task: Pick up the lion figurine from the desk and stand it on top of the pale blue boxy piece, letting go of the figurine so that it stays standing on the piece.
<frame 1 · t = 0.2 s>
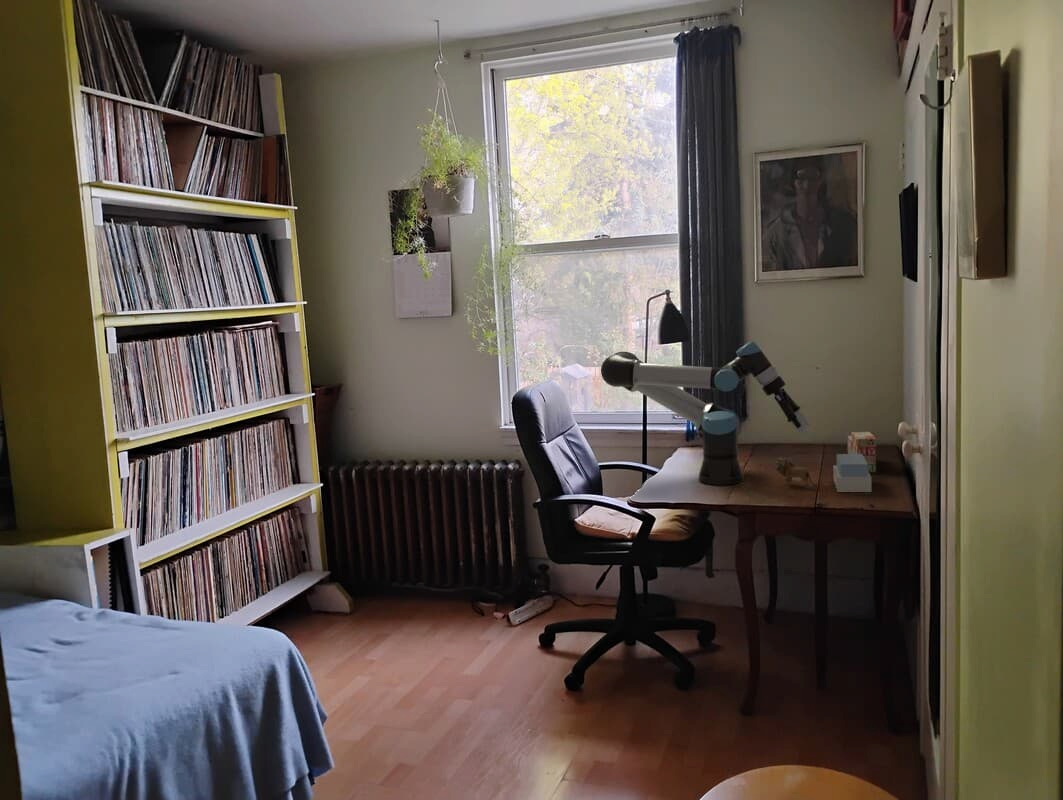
hand: (806, 430, 296), 15 cm above the table, tool tilted 35°, fingers open, 13 cm apart
lion figurine: (794, 486, 280), on the table
stack of blocks: (861, 466, 304), on the table
pale blue boxy piece: (851, 486, 276), on the table
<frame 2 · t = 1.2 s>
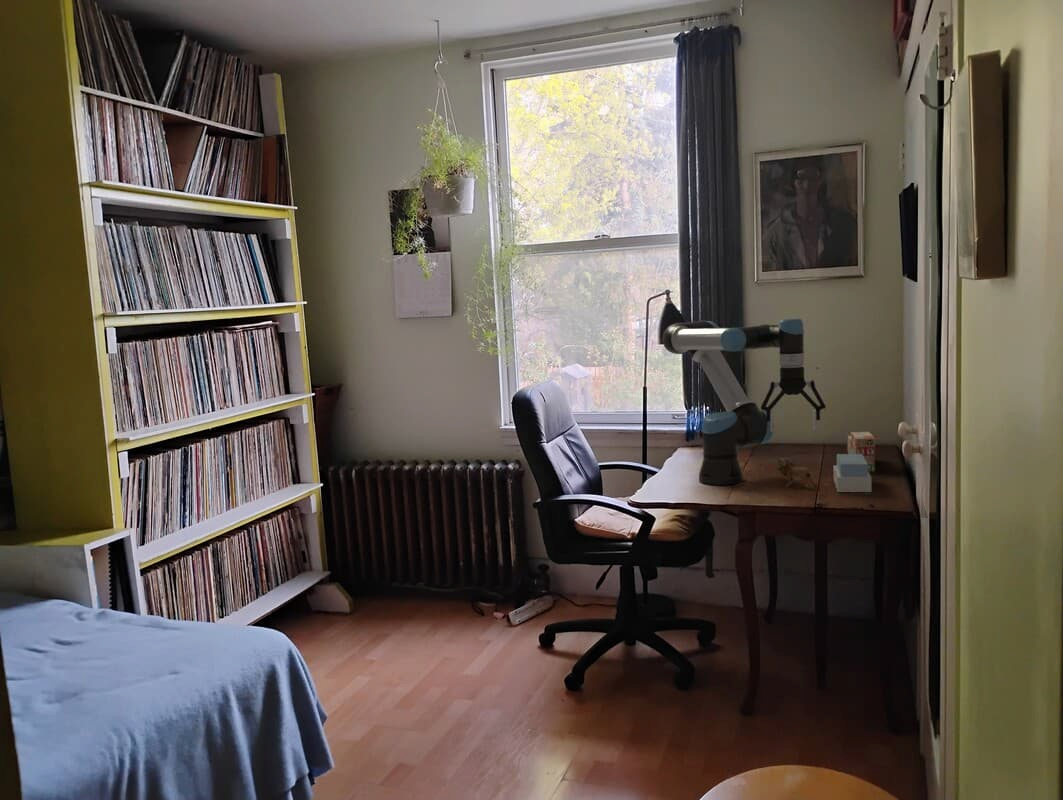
hand: (793, 430, 278), 19 cm above the table, tool pointing down, fingers open, 13 cm apart
nothing on the table moved.
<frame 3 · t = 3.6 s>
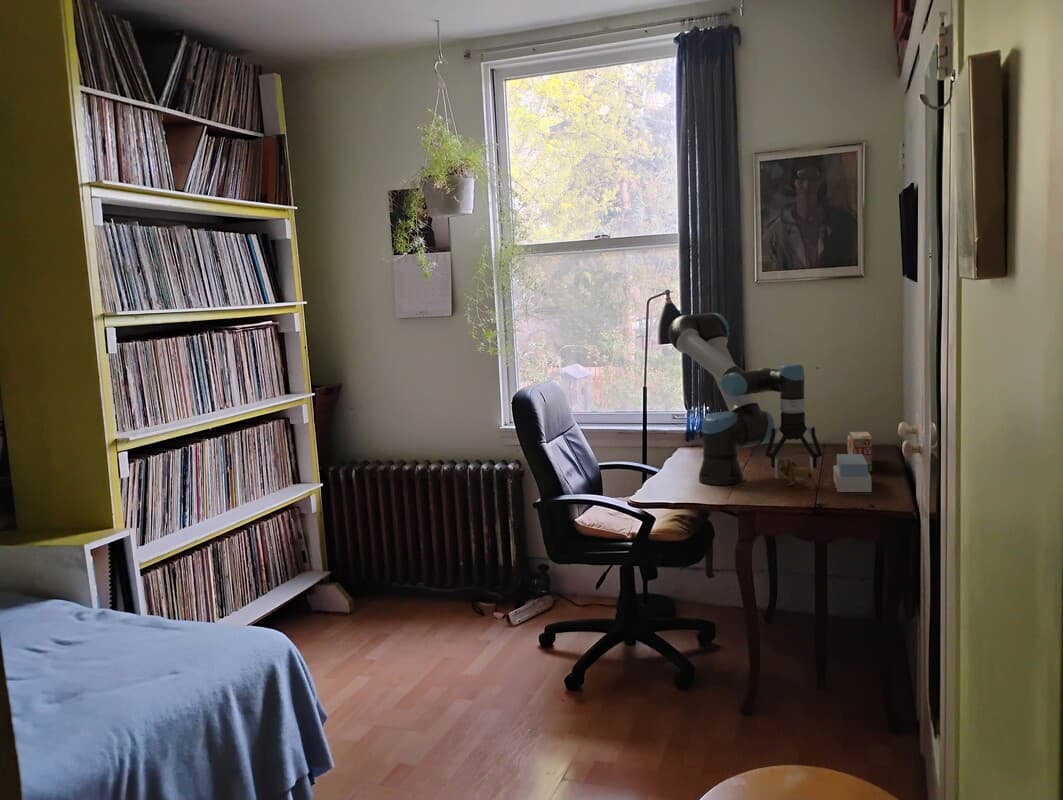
hand: (793, 477, 280), 3 cm above the table, tool pointing down, fingers closed on lion figurine, 10 cm apart
lion figurine: (797, 486, 280), on the table, touching gripper
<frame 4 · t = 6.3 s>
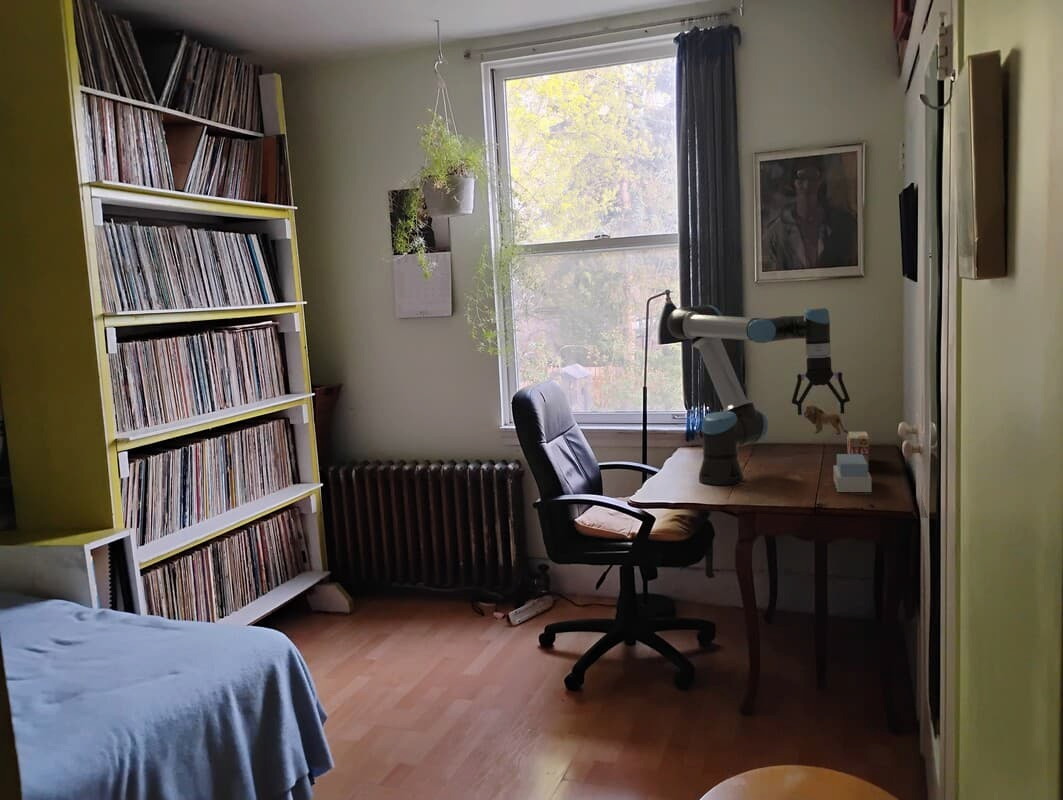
hand: (821, 424, 275), 21 cm above the table, tool pointing down, fingers closed on lion figurine, 10 cm apart
lion figurine: (825, 434, 274), point 18 cm above the table, touching gripper
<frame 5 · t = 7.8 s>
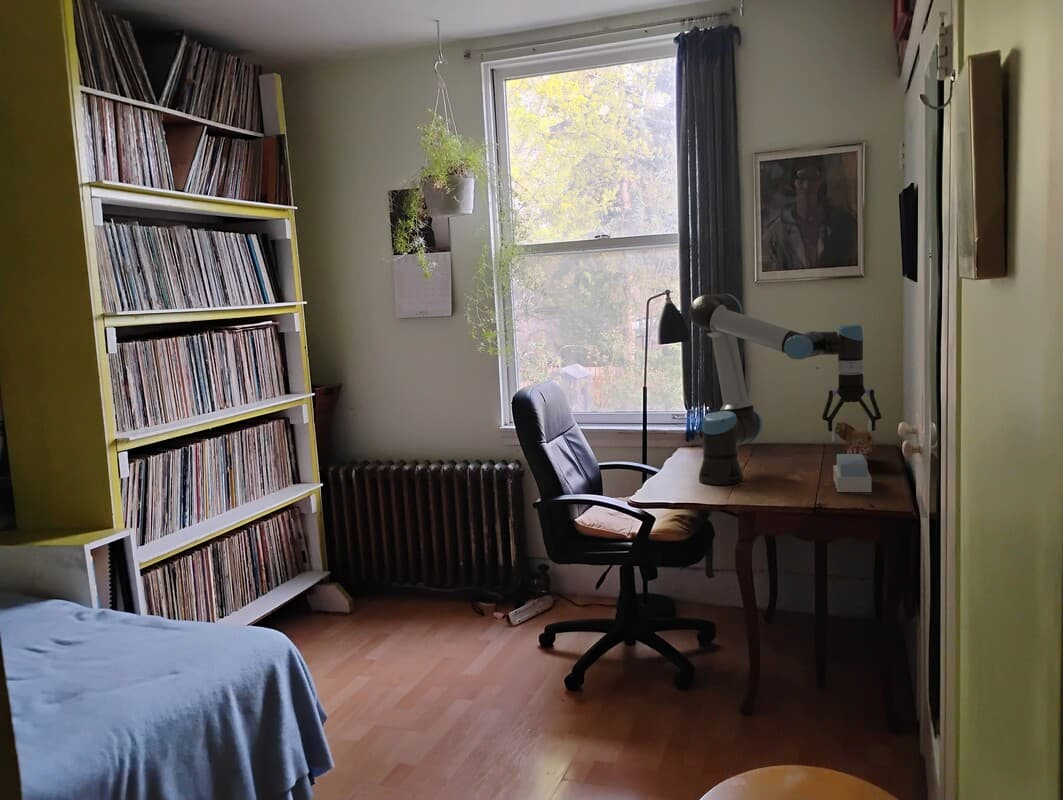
hand: (851, 441, 274), 15 cm above the table, tool pointing down, fingers closed on lion figurine, 10 cm apart
lion figurine: (855, 450, 273), point 12 cm above the table, touching gripper
when the fingers open (13 cm above the table, at t = 9.0 s): lion figurine drops 1 cm, resting on pale blue boxy piece.
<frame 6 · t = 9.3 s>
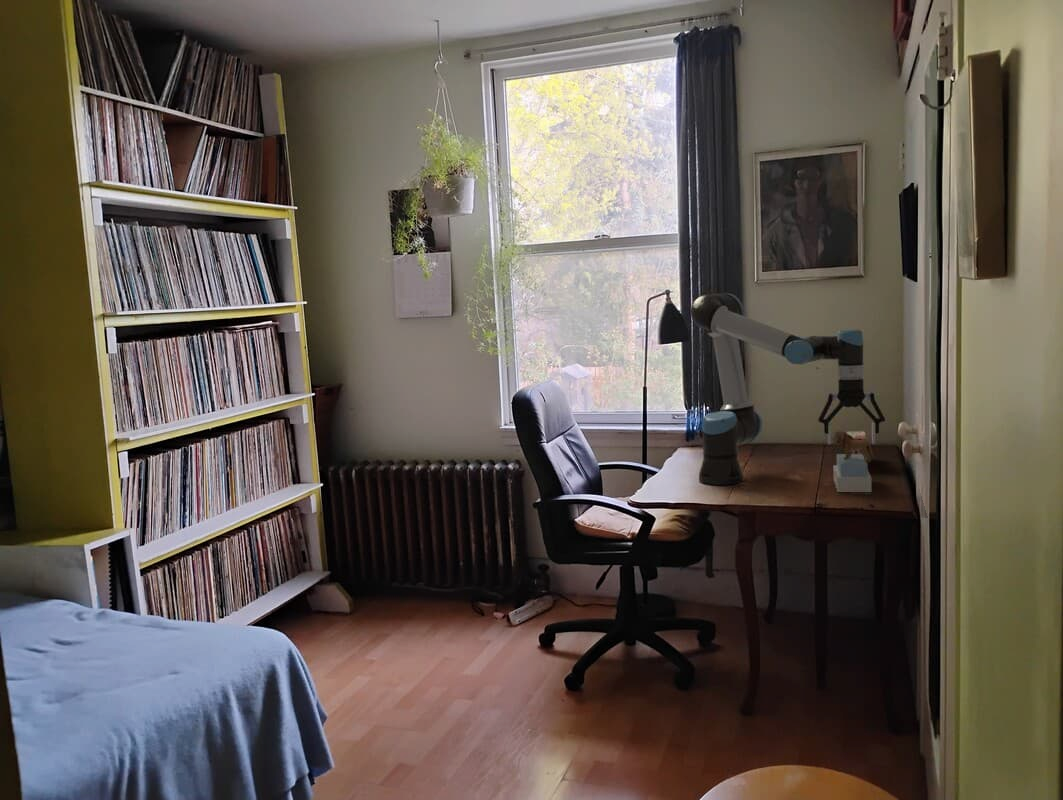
hand: (851, 443, 274), 14 cm above the table, tool pointing down, fingers open, 13 cm apart
lion figurine: (854, 460, 274), point 9 cm above the table, touching pale blue boxy piece
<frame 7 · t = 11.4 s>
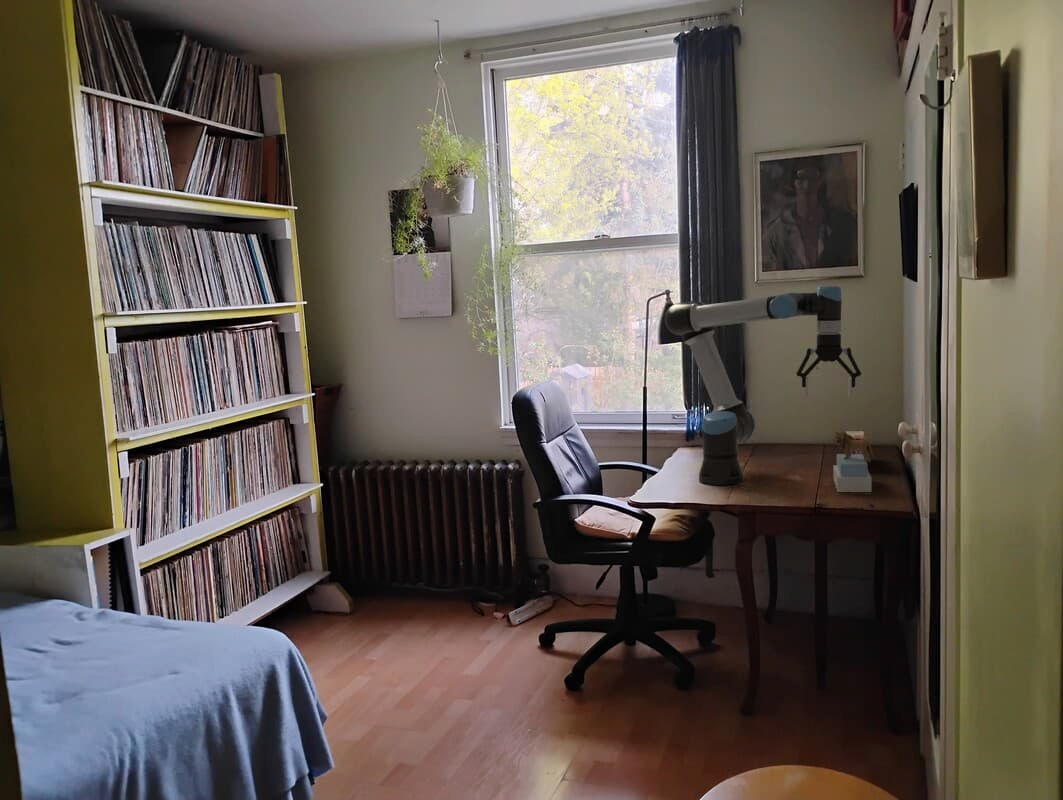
hand: (828, 397, 282), 28 cm above the table, tool pointing down, fingers open, 13 cm apart
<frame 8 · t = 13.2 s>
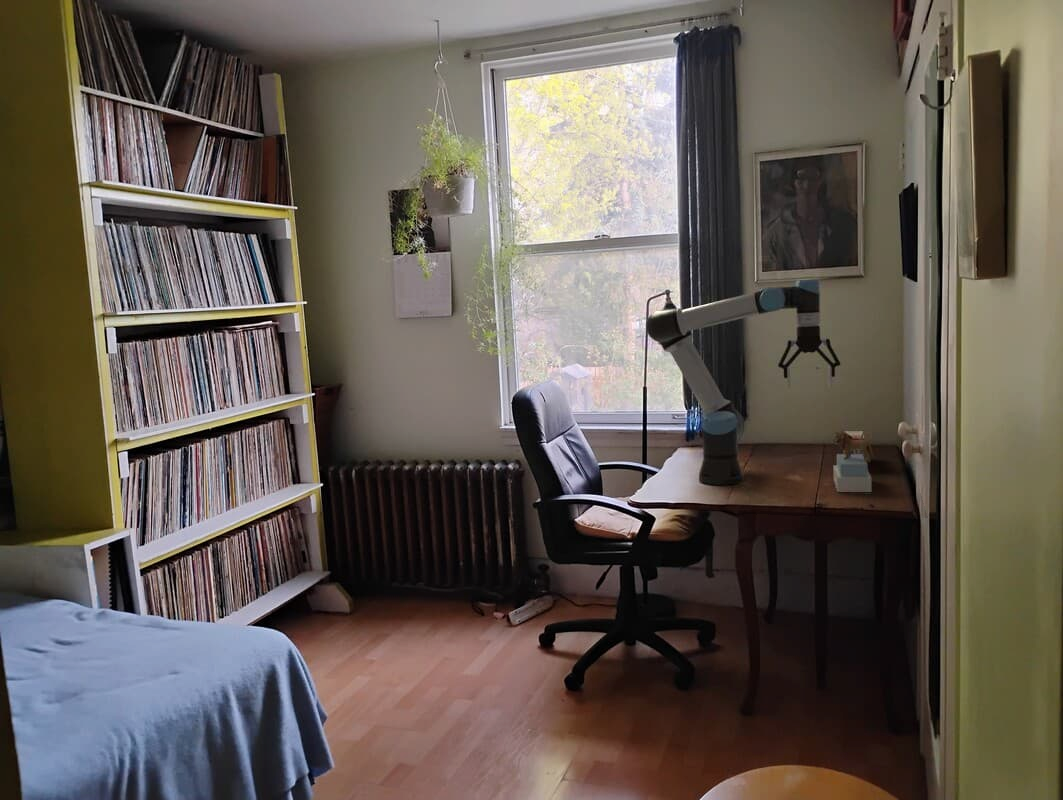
hand: (809, 387, 291), 31 cm above the table, tool pointing down, fingers open, 13 cm apart
at the end: lion figurine inside the target area on the pale blue boxy piece (1.0 cm from its centre), point 8.8 cm above the pale blue boxy piece's base; lion figurine tilted 0°; the gripper is holding nothing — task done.
